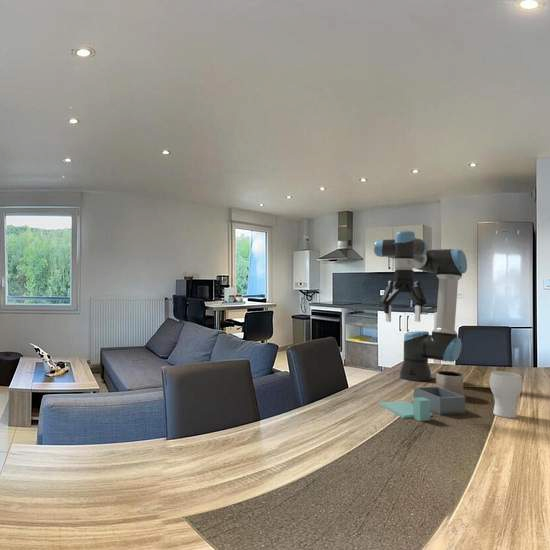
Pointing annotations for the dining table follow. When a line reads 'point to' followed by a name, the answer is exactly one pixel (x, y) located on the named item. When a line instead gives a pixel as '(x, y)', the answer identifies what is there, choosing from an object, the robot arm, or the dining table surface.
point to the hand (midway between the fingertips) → (403, 321)
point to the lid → (410, 408)
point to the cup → (505, 392)
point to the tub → (441, 400)
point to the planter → (450, 381)
